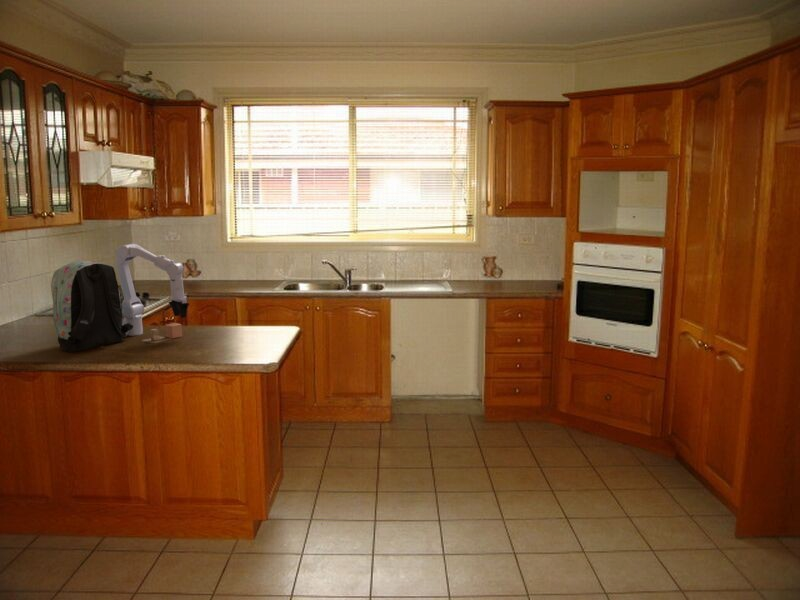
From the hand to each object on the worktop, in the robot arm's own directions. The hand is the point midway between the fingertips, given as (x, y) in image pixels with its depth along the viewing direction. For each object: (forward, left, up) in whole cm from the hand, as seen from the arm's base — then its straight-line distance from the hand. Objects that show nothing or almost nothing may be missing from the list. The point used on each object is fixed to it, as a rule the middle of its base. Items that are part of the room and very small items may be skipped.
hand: (180, 316), depth 313 cm
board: (-2, -12, -10) cm, 15 cm away
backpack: (-21, -34, -10) cm, 41 cm away
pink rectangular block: (-1, -3, -10) cm, 11 cm away
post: (-2, -13, -9) cm, 16 cm away
